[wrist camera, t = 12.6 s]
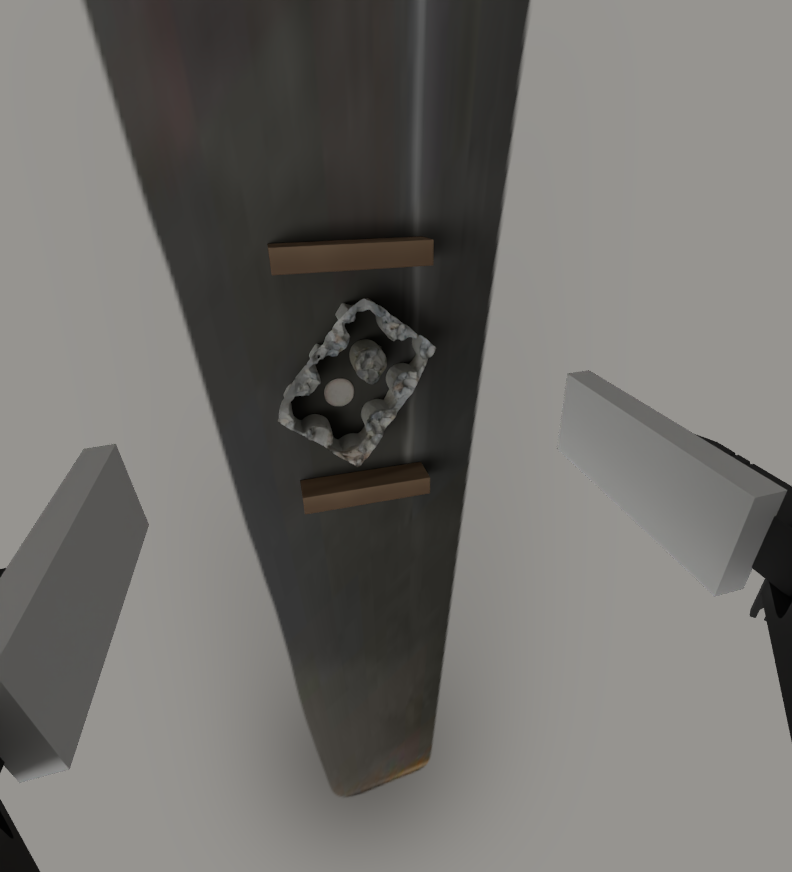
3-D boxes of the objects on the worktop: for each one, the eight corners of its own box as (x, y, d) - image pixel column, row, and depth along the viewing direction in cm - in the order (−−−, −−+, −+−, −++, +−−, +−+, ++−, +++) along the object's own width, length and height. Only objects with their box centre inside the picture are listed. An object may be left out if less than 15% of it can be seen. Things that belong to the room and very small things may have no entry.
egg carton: (347, 449, 38) (356, 476, 34) (264, 401, 34) (265, 425, 30) (432, 343, 35) (452, 360, 32) (354, 279, 32) (366, 290, 28)
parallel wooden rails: (267, 243, 29) (268, 248, 27) (421, 236, 31) (433, 239, 29) (302, 496, 38) (305, 514, 36) (420, 477, 40) (429, 493, 38)
